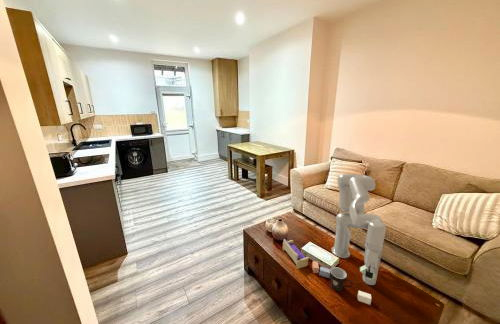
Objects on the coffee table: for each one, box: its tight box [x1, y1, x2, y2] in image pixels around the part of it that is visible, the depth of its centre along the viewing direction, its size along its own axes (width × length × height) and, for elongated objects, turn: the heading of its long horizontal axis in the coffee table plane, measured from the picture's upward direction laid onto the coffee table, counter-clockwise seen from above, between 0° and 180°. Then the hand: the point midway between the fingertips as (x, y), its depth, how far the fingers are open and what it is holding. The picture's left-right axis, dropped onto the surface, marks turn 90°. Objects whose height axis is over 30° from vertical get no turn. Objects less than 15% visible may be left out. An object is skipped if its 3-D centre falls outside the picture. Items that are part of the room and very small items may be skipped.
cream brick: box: [357, 290, 372, 306], centre depth 111 cm, size 6×3×4 cm, turn 65°
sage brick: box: [359, 264, 376, 280], centre depth 107 cm, size 6×3×4 cm
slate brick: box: [318, 266, 331, 279], centre depth 128 cm, size 6×3×4 cm, turn 64°
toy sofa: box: [282, 238, 310, 270], centre depth 143 cm, size 21×9×10 cm, turn 20°
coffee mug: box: [330, 266, 353, 292], centre depth 118 cm, size 12×9×10 cm
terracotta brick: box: [311, 260, 320, 274], centre depth 133 cm, size 6×3×4 cm, turn 171°
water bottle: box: [362, 250, 383, 286], centre depth 122 cm, size 9×8×25 cm
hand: (368, 274), depth 108 cm, fingers closed on sage brick, 3 cm apart
